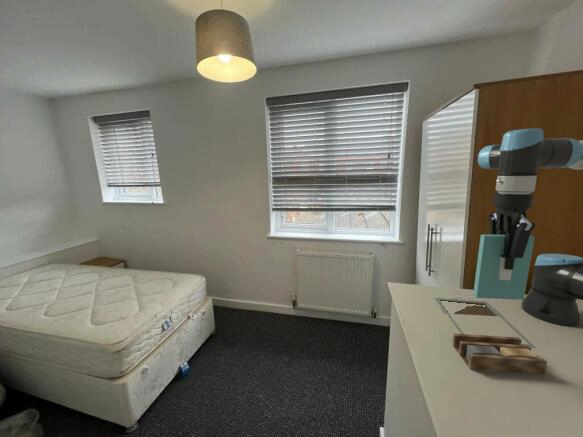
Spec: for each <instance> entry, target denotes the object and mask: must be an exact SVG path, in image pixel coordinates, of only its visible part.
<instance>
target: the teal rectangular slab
mask: <svg viewBox="0 0 583 437" xmlns="http://www.w3.org/2000/svg"><path fill="white" fill-rule="evenodd" d="M534 242H535V236H534V235H531V234H530V236H529V239H528V243H527V246H526V249H525V252H524V255H523V258H515V260H514V267H513V270H512V273H511V280H499V279H498V273H499V266H500V259H501V255H504V245H505V235H489V234H480V240H479V246H478V247H479V248H478V252H477V262H476V269H475V270H476V271H475V278H474V284H473V285H474V287H473V296H474V298H476V299H495V300H497V299H499V300H520V301H521V300H522V301H523V300H524V298H525V297H526V291H527V290H526V288H527V284H528V278H529V273H530V272H529V271H530V265H531V261H532V260H531V259H532V254H533V248H534Z"/></svg>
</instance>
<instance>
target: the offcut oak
mask: <svg viewBox="0 0 583 437" xmlns="http://www.w3.org/2000/svg"><path fill="white" fill-rule="evenodd" d="M500 353H501V354H502V355H501V356H513V357H527V358H538V356H537V355H536V354H534V352H532V350H531V351H530V350H529V349H522V348H507V347H500Z"/></svg>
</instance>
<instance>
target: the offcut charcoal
mask: <svg viewBox="0 0 583 437" xmlns="http://www.w3.org/2000/svg"><path fill="white" fill-rule="evenodd" d="M470 354H484V355H499V356H501V355H502V354H501V353H500V352H499V351H498V350H497V349H496V348H495V347H491V346H476V345H467V350H466V358H467V360H468V361H469V356H470Z"/></svg>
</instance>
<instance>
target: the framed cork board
mask: <svg viewBox="0 0 583 437" xmlns="http://www.w3.org/2000/svg"><path fill="white" fill-rule="evenodd" d="M458 298H459V299H461V300H458V299H454V298H444V297H434V300H435V299H436V301H437V302H438V304H439V305H440V307H441V308H440V307H439V308H440V310H441V309H442V310H443V311H442V310H441V311H442V313H443V314H444V313H445V314H447V316H448V318H449V319H450V321H451V322H452V324H454V326H455V327H456V329H457V330H458V332H459V334H465V333H464V332H463V331H462V329H461V328H460V327H459V325H458V324H457V322H456V321H455V320H454V318H453V317H452V316H451V314H449V313H448V311H447V310H446V309H445V307H444V306H443V305H442V303H441V302H440V301H448V302H457V303H466V304H476V305H481V306H476V305H474V306H471V307H470V306H467V307H465V309H462V310H460V311H457V312H455V313H454V314H453V315H462V316H463V315H466V316H467V315H468V316H469V315H470V316H482V317H484V316H486V317H499V318H500V319H501V320H502V321H504V323H506V325H507V326H509V327H510V328H511V329H512V330H513V331H514V332H515V333H516V334H518V335H519V337H520V338H521V339H523V340H524V342H526V343H527V344H526V343H521V345H528V346H530V347H531V349H537V347H536V346H535V345H534V344H533V343H532V342H531V341H529V339H528V338H526V337H525V336H524V335H523V334H522V333H521V332H520V331H519V330H518V329H517V328H515V327H514V326H513V325H512V324H511V323H510V322H508V320H507V319H506V318H505V317H504V316H502V315H501V314H500V313H499V311H497V310H496V309H495V308H494V307H493V306H492V305H491V304H490V303H488V302H487V301H483V300H482V301H481V300H470V299H469V300H468V299H464V298H463V299H462V298H460V297H458ZM439 300H440V301H439ZM436 301H435V302H436ZM437 302H436V303H437ZM438 304H437V305H438ZM439 305H438V306H439ZM482 305H485V307H483V306H482ZM445 314H444V315H445Z"/></svg>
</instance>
